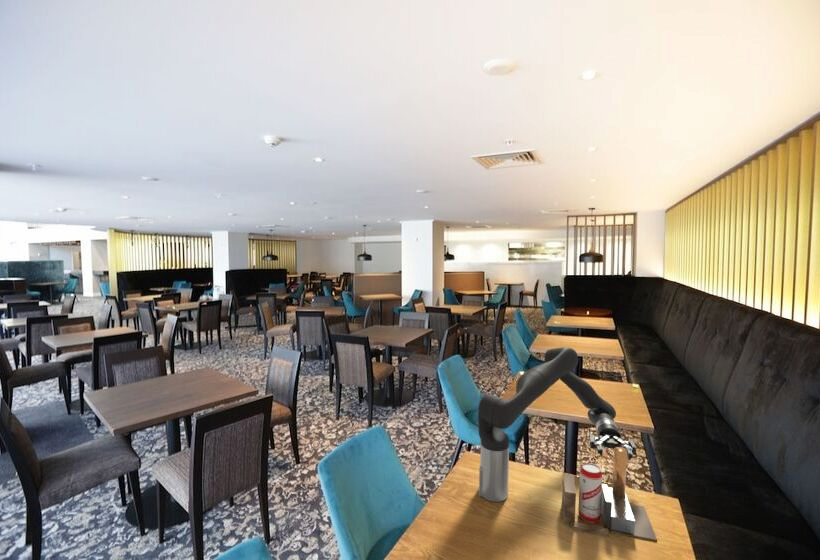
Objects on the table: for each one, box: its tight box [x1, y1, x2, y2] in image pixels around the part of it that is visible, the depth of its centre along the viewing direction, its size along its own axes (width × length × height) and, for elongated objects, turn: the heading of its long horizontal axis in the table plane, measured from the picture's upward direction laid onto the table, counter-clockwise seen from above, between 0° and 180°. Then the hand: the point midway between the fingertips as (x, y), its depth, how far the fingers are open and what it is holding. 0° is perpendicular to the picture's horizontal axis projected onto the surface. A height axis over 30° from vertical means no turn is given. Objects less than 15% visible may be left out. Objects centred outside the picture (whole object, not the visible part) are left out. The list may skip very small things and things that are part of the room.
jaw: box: [601, 447, 635, 534], centre depth 121 cm, size 8×15×18 cm, turn 162°
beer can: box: [577, 462, 603, 524], centre depth 121 cm, size 6×6×16 cm
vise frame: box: [561, 472, 658, 542], centre depth 122 cm, size 24×17×10 cm
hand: (615, 454), depth 133 cm, fingers open, 8 cm apart
